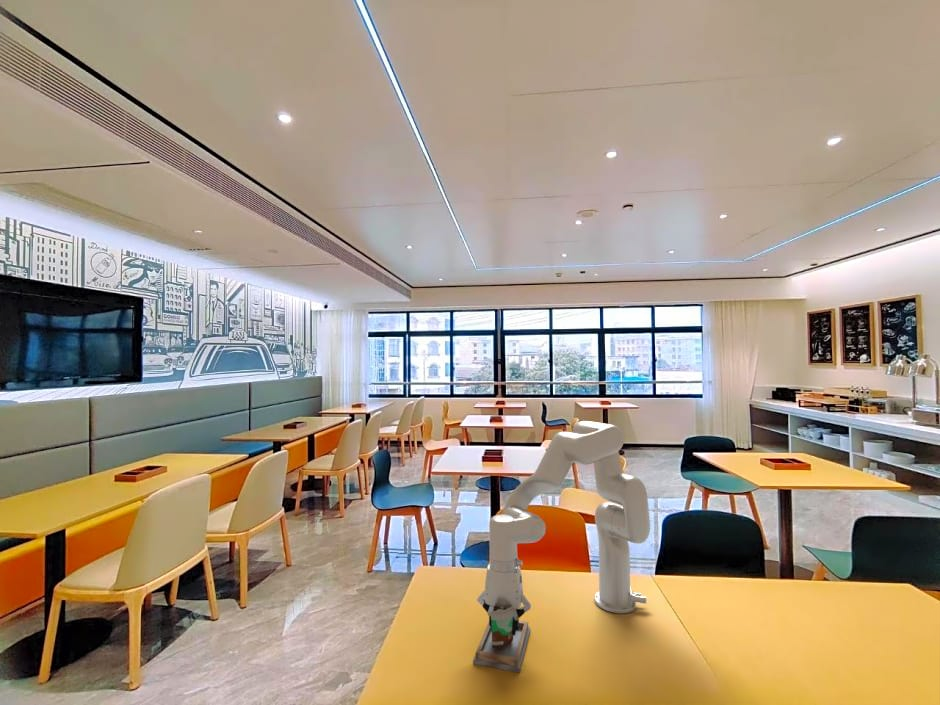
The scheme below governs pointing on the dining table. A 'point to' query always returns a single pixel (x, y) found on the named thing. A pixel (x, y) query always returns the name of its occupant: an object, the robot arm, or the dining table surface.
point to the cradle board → (503, 650)
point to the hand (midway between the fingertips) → (504, 629)
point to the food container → (502, 626)
